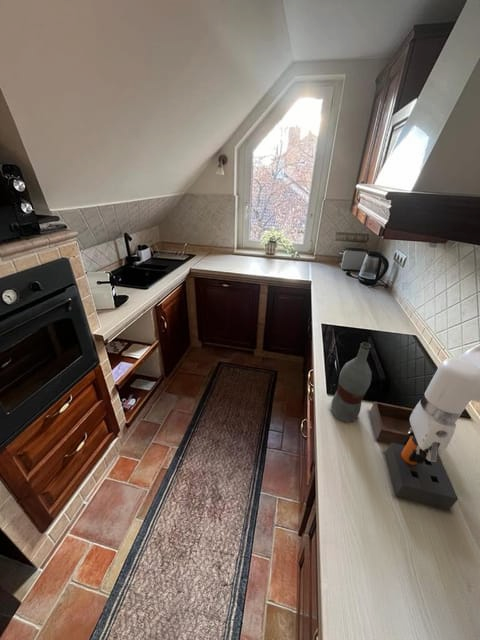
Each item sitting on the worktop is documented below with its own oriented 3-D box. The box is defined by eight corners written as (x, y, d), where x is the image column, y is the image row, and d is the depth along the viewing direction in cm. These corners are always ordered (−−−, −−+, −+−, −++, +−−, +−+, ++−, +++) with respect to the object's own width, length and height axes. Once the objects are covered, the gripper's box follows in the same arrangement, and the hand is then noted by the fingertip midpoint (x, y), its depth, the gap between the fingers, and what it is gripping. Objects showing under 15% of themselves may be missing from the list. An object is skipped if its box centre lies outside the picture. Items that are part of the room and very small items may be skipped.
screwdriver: (407, 464, 74) (425, 435, 68) (412, 478, 71) (431, 449, 64) (393, 460, 75) (408, 432, 68) (396, 474, 72) (413, 445, 65)
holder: (429, 465, 75) (438, 452, 72) (447, 511, 64) (458, 499, 61) (384, 454, 77) (390, 442, 74) (395, 497, 67) (403, 485, 64)
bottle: (329, 420, 88) (350, 350, 72) (329, 400, 95) (348, 333, 80) (358, 427, 85) (386, 356, 70) (356, 406, 93) (380, 339, 78)
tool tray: (417, 422, 87) (424, 411, 84) (430, 453, 78) (438, 441, 75) (369, 412, 91) (374, 401, 88) (375, 441, 81) (381, 429, 78)
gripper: (477, 441, 52) (440, 488, 61) (443, 384, 66) (417, 430, 75) (436, 432, 54) (406, 480, 63) (411, 379, 68) (389, 424, 77)
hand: (412, 452), depth 69 cm, fingers closed on screwdriver, 4 cm apart
